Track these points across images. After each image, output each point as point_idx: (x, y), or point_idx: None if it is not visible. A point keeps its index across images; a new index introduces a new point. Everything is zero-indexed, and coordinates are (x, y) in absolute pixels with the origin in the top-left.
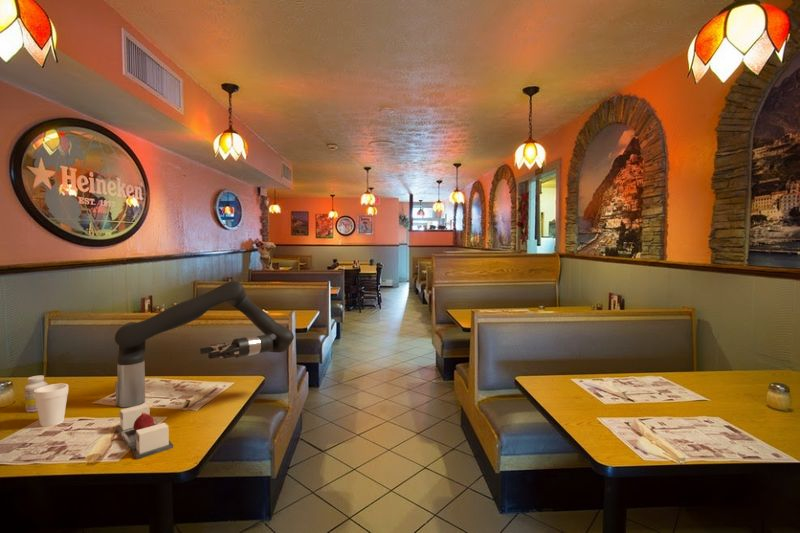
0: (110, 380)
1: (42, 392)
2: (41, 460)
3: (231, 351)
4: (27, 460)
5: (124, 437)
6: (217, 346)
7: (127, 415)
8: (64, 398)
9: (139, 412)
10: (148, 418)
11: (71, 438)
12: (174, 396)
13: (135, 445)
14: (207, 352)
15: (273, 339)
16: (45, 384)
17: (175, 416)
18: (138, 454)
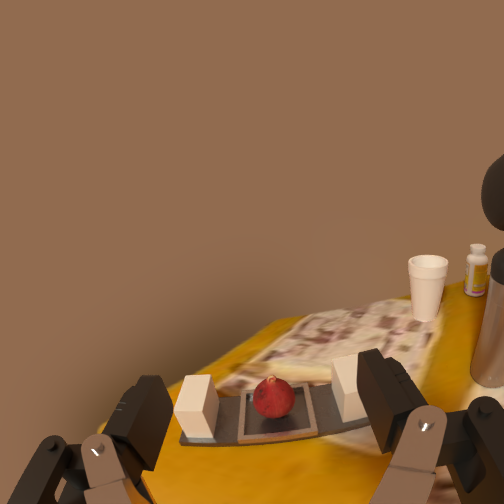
0: None
1: (409, 260)
2: (294, 332)
3: (22, 487)
4: (305, 323)
5: None
6: (379, 487)
7: (333, 370)
8: (425, 286)
9: (339, 385)
10: (258, 393)
11: (352, 342)
12: None
13: (236, 401)
14: (374, 426)
15: None
16: (479, 261)
17: (373, 471)
18: None
